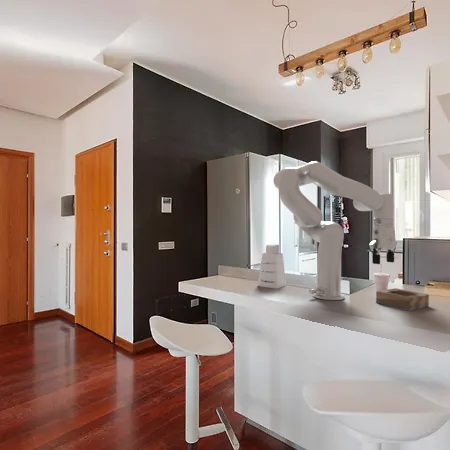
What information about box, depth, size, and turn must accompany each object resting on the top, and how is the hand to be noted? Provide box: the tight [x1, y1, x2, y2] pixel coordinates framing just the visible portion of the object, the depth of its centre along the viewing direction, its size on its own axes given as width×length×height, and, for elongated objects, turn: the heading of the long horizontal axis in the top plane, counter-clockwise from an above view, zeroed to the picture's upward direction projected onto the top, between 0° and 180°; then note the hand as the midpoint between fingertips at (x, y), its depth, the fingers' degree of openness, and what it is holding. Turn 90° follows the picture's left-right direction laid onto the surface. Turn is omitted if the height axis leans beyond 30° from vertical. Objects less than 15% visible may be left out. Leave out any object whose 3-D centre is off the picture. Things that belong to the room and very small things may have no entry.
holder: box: [375, 288, 430, 312], centre depth 126 cm, size 13×13×4 cm
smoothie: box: [373, 263, 391, 292], centre depth 139 cm, size 6×6×14 cm
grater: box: [257, 244, 287, 289], centre depth 159 cm, size 10×10×20 cm
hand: (383, 262), depth 139 cm, fingers open, 9 cm apart
